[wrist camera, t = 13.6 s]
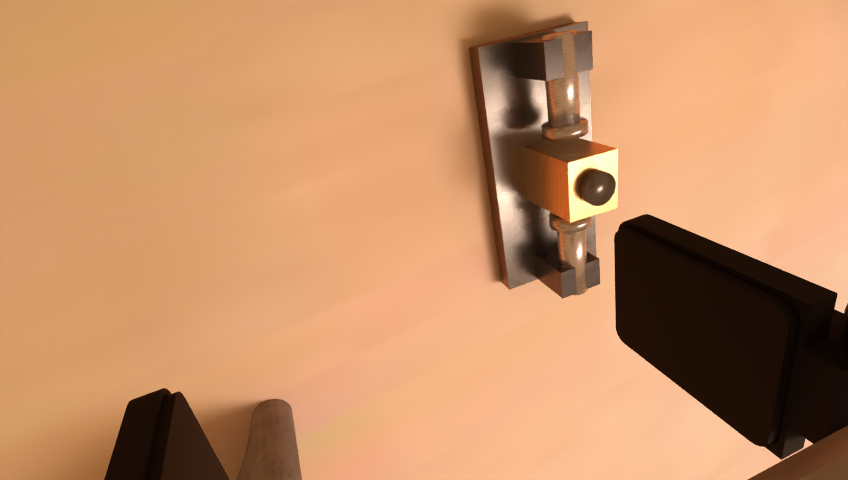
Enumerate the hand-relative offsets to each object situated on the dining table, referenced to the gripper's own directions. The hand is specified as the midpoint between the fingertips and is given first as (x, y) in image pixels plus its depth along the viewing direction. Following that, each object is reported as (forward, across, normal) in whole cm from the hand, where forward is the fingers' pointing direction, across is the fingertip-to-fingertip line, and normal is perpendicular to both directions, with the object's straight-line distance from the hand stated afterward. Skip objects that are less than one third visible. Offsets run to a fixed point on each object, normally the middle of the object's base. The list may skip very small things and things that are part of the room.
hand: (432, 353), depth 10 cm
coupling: (+25, -18, +7) cm, 31 cm away
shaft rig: (+26, -18, +7) cm, 33 cm away
